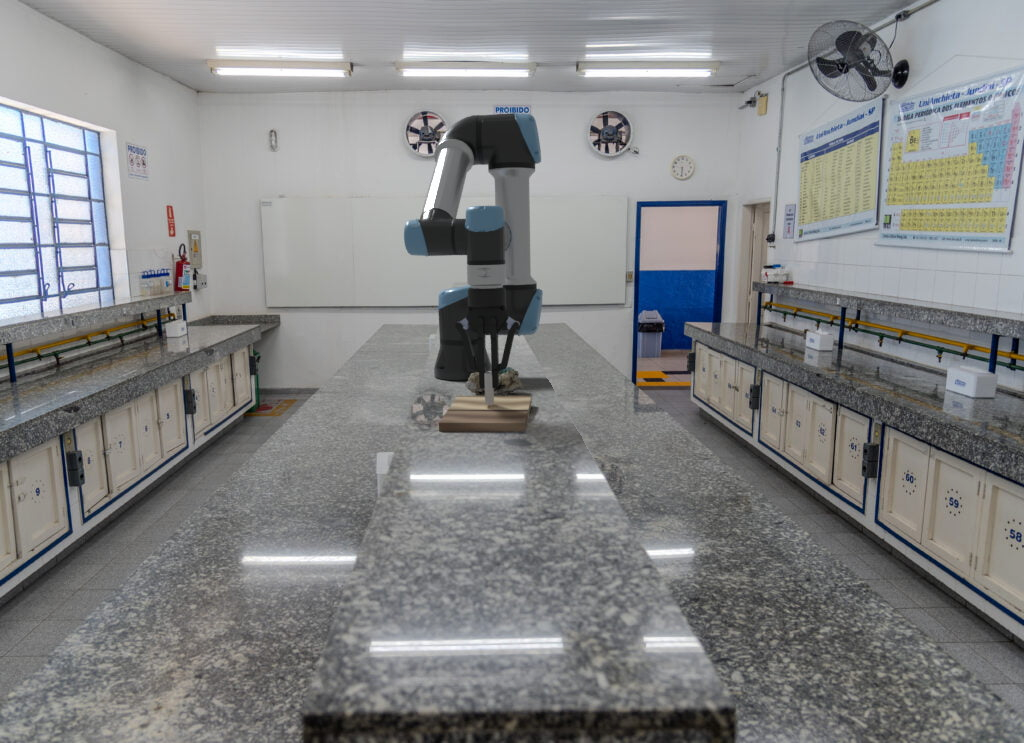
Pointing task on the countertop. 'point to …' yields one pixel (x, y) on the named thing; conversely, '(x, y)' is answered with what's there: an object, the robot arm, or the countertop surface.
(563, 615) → the countertop surface
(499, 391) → the mineral specimen
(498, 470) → the countertop surface
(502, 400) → the board
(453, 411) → the floor board
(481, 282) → the robot arm
